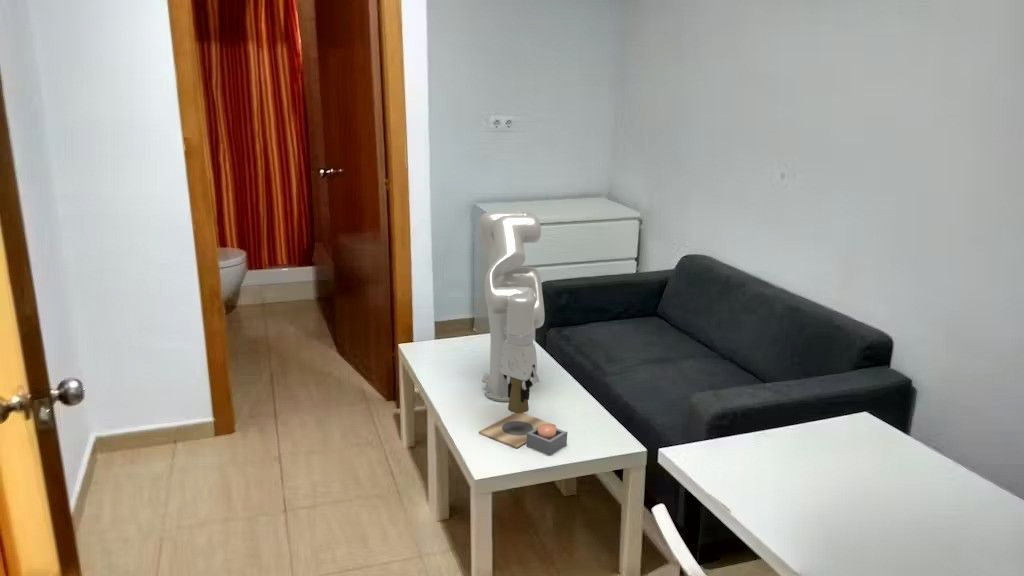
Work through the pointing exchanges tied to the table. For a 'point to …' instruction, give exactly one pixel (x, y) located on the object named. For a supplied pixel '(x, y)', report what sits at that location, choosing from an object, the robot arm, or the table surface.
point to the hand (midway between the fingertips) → (518, 398)
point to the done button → (547, 431)
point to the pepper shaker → (517, 397)
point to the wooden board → (513, 429)
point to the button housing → (546, 441)
